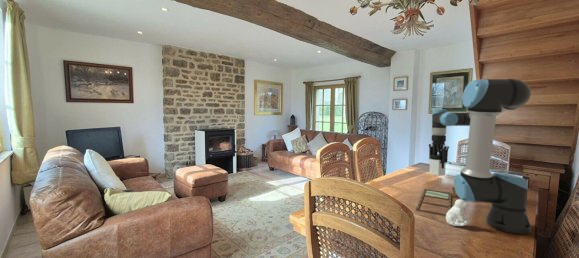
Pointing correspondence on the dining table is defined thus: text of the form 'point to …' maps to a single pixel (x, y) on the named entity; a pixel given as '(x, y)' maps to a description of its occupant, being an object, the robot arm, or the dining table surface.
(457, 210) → the white animal figurine
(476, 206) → the dining table surface
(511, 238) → the dining table surface
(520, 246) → the dining table surface
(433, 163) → the jar
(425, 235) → the dining table surface
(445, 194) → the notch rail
